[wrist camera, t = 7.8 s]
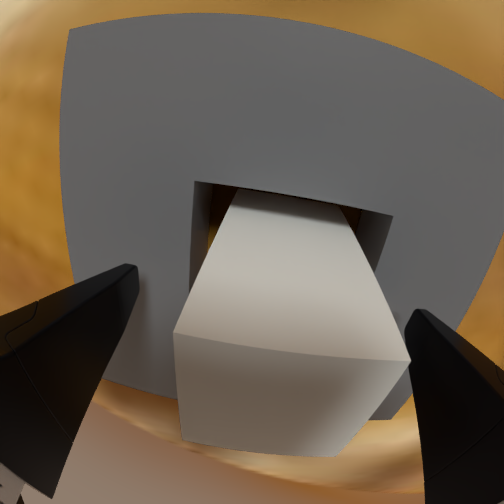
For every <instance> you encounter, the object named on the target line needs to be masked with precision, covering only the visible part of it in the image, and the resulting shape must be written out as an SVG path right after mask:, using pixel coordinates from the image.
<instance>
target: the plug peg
mask: <svg viewBox="0 0 504 504" xmlns="http://www.w3.org/2000/svg"><path fill="white" fill-rule="evenodd" d="M173 343H174V360H175V374H176V386H177V397H178V408H179V417H180V426H181V434H182V440H185V441H189V442H194V443H199V444H204V445H209V446H214V447H220V448H226V449H233V450H240V451H247V452H256V453H265V454H276V455H291V456H316V457H336V456H337V455H338V454H339V453H340V451H341V450H342V449H343V448H344V447H345V446H346V445H347V444H348V443H349V442H350V440H351V439H352V438H353V437H354V436H355V435H356V434H357V432H358V431H359V430H360V429H361V428H362V427H363V425H364V424H365V423H366V422H367V421H368V419H369V418H370V417H371V416H372V414H373V413H374V412H375V411H376V409H377V408H378V407H379V406H380V404H381V403H382V402H383V400H384V399H385V398H386V396H387V395H388V394H389V392H390V391H391V390H392V388H393V387H394V385H395V384H396V383H397V381H398V380H399V378H400V377H401V375H402V374H403V372H404V371H405V369H406V368H407V367H408V365H409V363H410V362H411V359H410V357H409V354H408V351H407V349H406V346H405V344H404V341H403V339H402V336H401V334H400V332H399V329H398V327H397V324H396V322H395V320H394V317H393V315H392V313H391V310H390V308H389V306H388V304H387V301H386V299H385V297H384V295H383V292H382V290H381V288H380V286H379V284H378V282H377V280H376V277H375V275H374V273H373V271H372V269H371V267H370V265H369V263H368V261H367V259H366V257H365V255H364V253H363V251H362V249H361V247H360V245H359V243H358V241H357V239H356V237H355V235H354V233H353V231H352V230H351V228H350V226H349V224H348V222H347V220H346V218H345V216H344V215H343V213H342V211H341V209H340V207H339V206H337V205H332V204H327V203H322V202H316V201H311V200H305V199H300V198H294V197H288V196H282V195H276V194H270V193H264V192H258V191H251V190H245V189H238V190H237V192H236V194H235V196H234V198H233V200H232V202H231V204H230V206H229V209H228V211H227V213H226V215H225V217H224V219H223V221H222V223H221V225H220V228H219V230H218V232H217V234H216V236H215V238H214V241H213V243H212V245H211V247H210V249H209V251H208V254H207V256H206V258H205V260H204V262H203V265H202V267H201V269H200V271H199V273H198V276H197V278H196V280H195V282H194V285H193V287H192V289H191V291H190V294H189V296H188V298H187V301H186V303H185V305H184V307H183V310H182V312H181V314H180V317H179V319H178V321H177V324H176V326H175V328H174V331H173Z"/></svg>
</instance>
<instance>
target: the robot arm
mask: <svg viewBox="0 0 504 504" xmlns="http://www.w3.org/2000/svg"><path fill="white" fill-rule="evenodd" d="M139 291H140V284H139V271H138V267H137V266H136V265H133V264H128V263H124V264H122V265H119V266H117V267H114V268H112V269H110V270H107V271H105V272H102V273H100V274H98V275H95V276H93V277H90V278H88V279H86V280H83V281H81V282H79V283H76V284H74V285H72V286H69V287H67V288H65V289H62V290H60V291H58V292H56V293H53V294H51V295H49V296H46V297H44V298H42V299H40V300H39V301H35V302H33V303H31V304H29V305H26V306H24V307H22V308H19V309H17V310H15V311H12V312H10V313H7V314H4V315H2V316H0V504H24V502H23V499H22V496H21V494H20V493H21V491H22V489H23V486H24V484H25V483H26V484H27V485H29V486H30V487H32V488H33V489H35V490H37V491H38V492H40V493H42V494H44V495H45V496H47V497H49V498H51V499H52V498H53V495H54V493H55V490H56V487H57V484H58V481H59V479H60V476H61V473H62V470H63V467H64V465H65V462H66V460H67V457H68V455H69V452H70V450H71V447H72V445H73V443H72V442H74V439H75V437H76V434H77V432H78V430H79V427H80V425H81V422H82V420H83V418H84V416H85V413H86V411H87V408H88V406H89V404H90V402H91V400H92V397H93V395H94V393H95V391H96V389H97V387H98V384H99V382H100V380H101V378H102V376H103V374H104V372H105V370H106V368H107V366H108V363H109V361H110V359H111V357H112V355H113V353H114V351H115V349H116V347H117V345H118V343H119V341H120V339H121V337H122V335H123V333H124V331H125V328H126V326H127V323H128V321H129V318H130V315H131V313H132V310H133V308H134V305H135V303H136V300H137V297H138V295H139ZM404 337H405V345H406V349H407V351H408V354H409V357H410V359H411V362H410V363H409V365H408V370H409V376H410V381H411V386H412V391H413V397H414V402H415V408H416V414H417V421H418V428H419V435H420V443H421V452H422V461H423V473H424V481H425V482H424V489H425V504H504V371H503V370H502V369H501V368H500V367H499V366H497V365H495V363H494V362H492V361H491V360H490V359H489V358H488V357H486V356H485V355H484V354H483V353H482V352H480V351H479V350H478V349H477V348H475V347H474V346H473V345H472V344H470V343H469V342H468V341H467V340H465V339H464V338H463V337H462V336H460V335H459V334H458V333H457V332H455V331H454V330H453V329H451V328H450V327H449V326H448V325H446V324H445V323H444V322H442V321H441V320H440V319H438V318H437V317H436V316H434V315H433V314H432V313H430V312H429V311H428V310H426V309H419V308H417V309H415V310H414V311H413V313H412V315H411V317H410V319H409V321H408V323H407V324H406V326H405V329H404Z"/></svg>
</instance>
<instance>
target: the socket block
mask: <svg viewBox="0 0 504 504" xmlns="http://www.w3.org/2000/svg"><path fill="white" fill-rule="evenodd" d="M60 176H61V191H62V203H63V213H64V221H65V229H66V237H67V243H68V250H69V256H70V261H71V267H72V272H73V277H74V282H75V284H76V283H79V282H81V281H83V280H86V279H88V278H90V277H93V276H95V275H98V274H100V273H102V272H105V271H107V270H110V269H112V268H114V267H117V266H119V265H122V264H124V263H128V264H133V265H136V266H137V267H138V271H139V284H140V291H139V295H138V297H137V300H136V303H135V305H134V308H133V310H132V313H131V315H130V318H129V321H128V323H127V326H126V328H125V331H124V333H123V335H122V337H121V339H120V341H119V343H118V345H117V347H116V349H115V351H114V353H113V355H112V357H111V359H110V361H109V363H108V366H107V368H106V370H105V372H104V374H103V376H102V378H103V379H106V380H109V381H112V382H115V383H118V384H121V385H124V386H128V387H131V388H134V389H138V390H141V391H145V392H148V393H152V394H156V395H160V396H164V397H168V398H172V399H176V400H178V397H177V386H176V374H175V360H174V343H173V331H174V328H175V326H176V324H177V321H178V319H179V317H180V314H181V312H182V310H183V307H184V305H185V303H186V301H187V298H188V296H189V294H190V291H191V289H192V287H193V285H194V282H195V280H196V278H197V276H198V273H199V271H200V269H201V267H202V265H203V262H204V260H205V258H206V256H207V246H208V233H209V221H210V209H211V198H212V188H213V183H215V184H223V185H230V186H237V187H244V188H250V189H257V190H263V191H269V192H275V193H281V194H287V195H293V196H299V197H304V198H310V199H315V200H320V201H326V202H331V203H336V204H341V205H346V206H351V207H355V208H360V209H362V213H361V217H360V220H359V224H358V227H357V231H356V234H355V237H356V239H357V241H358V243H359V245H360V247H361V249H362V251H363V253H364V255H365V257H366V259H367V261H368V263H369V265H370V267H371V269H372V271H373V273H374V275H375V277H376V280H377V282H378V284H379V286H380V288H381V290H382V292H383V295H384V297H385V299H386V301H387V304H388V306H389V308H390V310H391V313H392V315H393V317H394V320H395V322H396V324H397V327H398V329H399V332H400V334H401V336H402V339H403V341H404V344H405V337H404V329H405V326H406V324H407V323H408V321H409V319H410V317H411V315H412V313H413V311H414V310H415V309H417V308H419V309H426V310H428V311H429V312H430V313H432V314H433V315H434V316H436V317H437V318H438V319H440V320H441V321H442V322H444V323H445V324H446V325H448V326H449V327H450V328H451V329H453V330H454V331H456V329H457V328H458V326H459V324H460V322H461V321H462V319H463V317H464V315H465V314H466V312H467V310H468V308H469V306H470V305H471V303H472V301H473V299H474V297H475V295H476V293H477V291H478V289H479V287H480V285H481V283H482V281H483V279H484V277H485V275H486V273H487V270H488V268H489V266H490V264H491V261H492V259H493V257H494V255H495V252H496V250H497V247H498V245H499V242H500V240H501V237H502V235H503V232H504V100H503V99H501V98H500V97H498V96H496V95H495V94H493V93H492V92H490V91H488V90H487V89H485V88H483V87H481V86H480V85H478V84H476V83H474V82H473V81H471V80H469V79H467V78H465V77H463V76H461V75H459V74H458V73H456V72H454V71H452V70H449V69H447V68H445V67H443V66H441V65H439V64H437V63H435V62H432V61H430V60H428V59H425V58H423V57H421V56H418V55H416V54H413V53H411V52H408V51H406V50H403V49H400V48H398V47H395V46H392V45H389V44H386V43H383V42H380V41H377V40H374V39H371V38H368V37H364V36H361V35H357V34H354V33H350V32H346V31H342V30H338V29H334V28H330V27H325V26H321V25H316V24H311V23H305V22H300V21H294V20H287V19H280V18H273V17H264V16H254V15H242V14H223V13H182V14H164V15H151V16H141V17H133V18H126V19H119V20H113V21H107V22H101V23H96V24H91V25H87V26H82V27H78V28H74V29H70V30H69V35H68V41H67V47H66V54H65V61H64V70H63V79H62V90H61V105H60ZM405 346H406V345H405ZM412 393H413V391H412V386H411V381H410V376H409V370H408V367H407V368H406V369H405V371H404V372H403V374H402V375H401V377H400V378H399V380H398V381H397V383H396V384H395V385H394V387H393V388H392V390H391V391H390V392H389V394H388V395H387V396H386V398H385V399H384V400H383V402H382V403H381V404H380V406H379V407H378V408H377V409H376V411H375V412H374V413H373V414H372V416H371V417H370V418H369V419H368V420H390V419H392V417H393V416H394V415H395V414H396V413H397V412H398V410H399V409H400V408H401V407H402V406H403V404H404V403H405V402H406V401H407V399H408V398H409V397H410V396H411V394H412Z"/></svg>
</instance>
